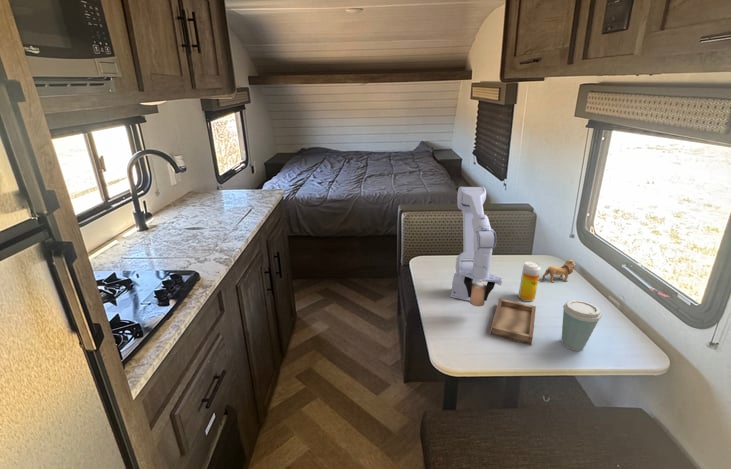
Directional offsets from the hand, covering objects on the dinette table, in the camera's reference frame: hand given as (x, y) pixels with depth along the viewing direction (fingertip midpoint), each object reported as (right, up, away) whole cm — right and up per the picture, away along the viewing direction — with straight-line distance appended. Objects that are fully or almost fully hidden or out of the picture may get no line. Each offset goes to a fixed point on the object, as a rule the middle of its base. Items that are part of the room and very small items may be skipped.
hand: (477, 297), depth 134 cm
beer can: (+24, -3, +15) cm, 28 cm away
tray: (+13, -9, 0) cm, 16 cm away
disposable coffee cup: (+28, -14, -11) cm, 33 cm away
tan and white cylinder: (0, -2, +1) cm, 2 cm away
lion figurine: (+43, +3, +29) cm, 52 cm away
